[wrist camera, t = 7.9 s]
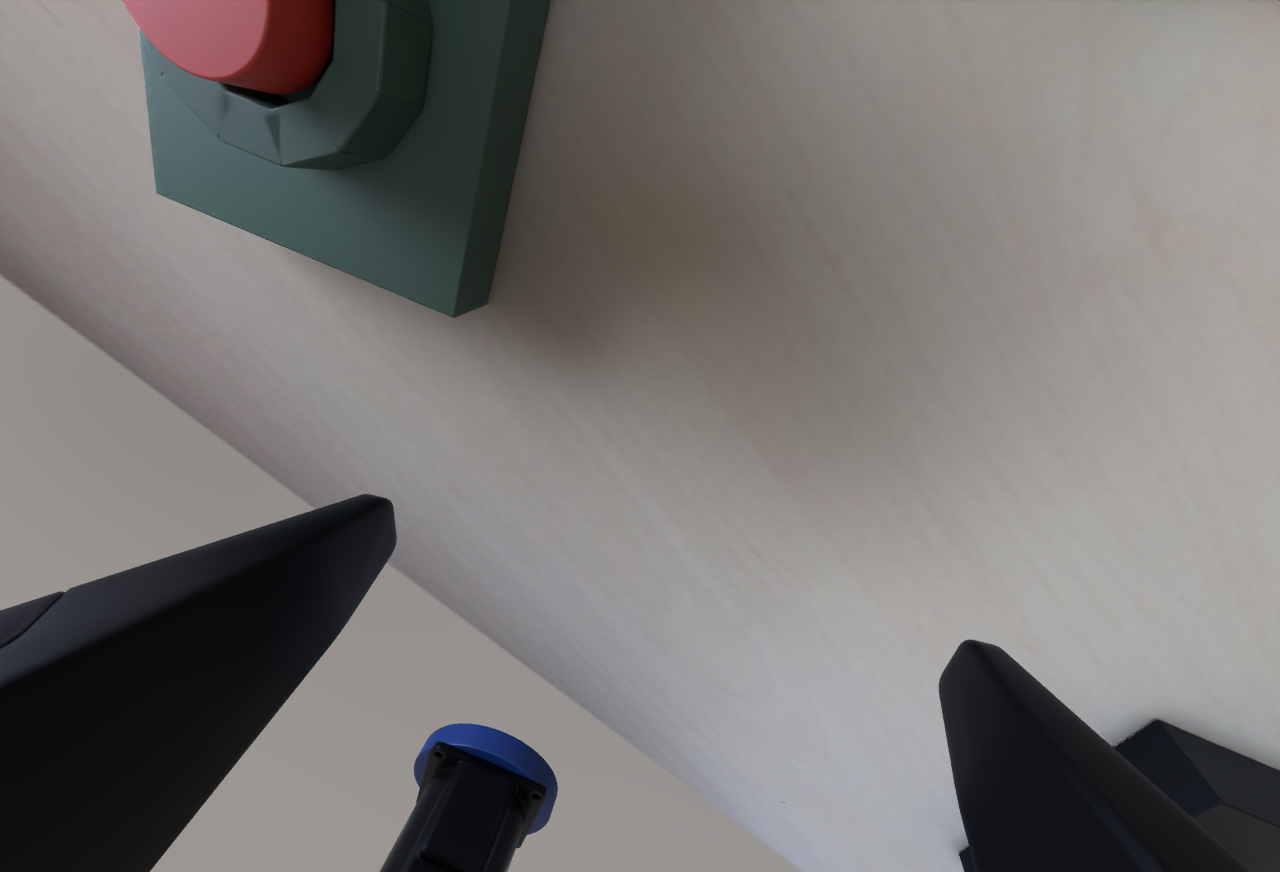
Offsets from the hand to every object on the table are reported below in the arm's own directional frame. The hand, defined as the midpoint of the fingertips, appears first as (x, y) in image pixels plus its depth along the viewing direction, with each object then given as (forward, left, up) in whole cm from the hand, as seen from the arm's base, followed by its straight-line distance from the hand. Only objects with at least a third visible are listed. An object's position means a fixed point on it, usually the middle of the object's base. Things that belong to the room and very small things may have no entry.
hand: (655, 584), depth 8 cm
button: (+5, +13, -7) cm, 15 cm away
